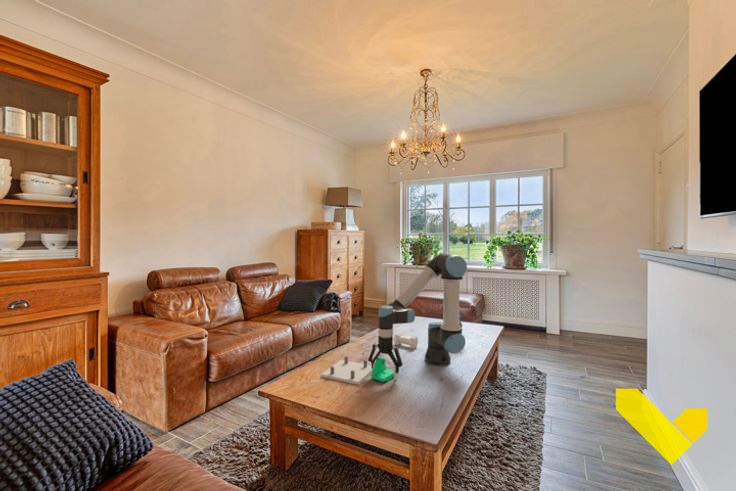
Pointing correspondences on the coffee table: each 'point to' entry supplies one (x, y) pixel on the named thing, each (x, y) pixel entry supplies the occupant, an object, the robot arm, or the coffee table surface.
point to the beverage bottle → (459, 321)
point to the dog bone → (406, 340)
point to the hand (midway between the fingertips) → (384, 376)
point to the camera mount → (381, 371)
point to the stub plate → (348, 371)
